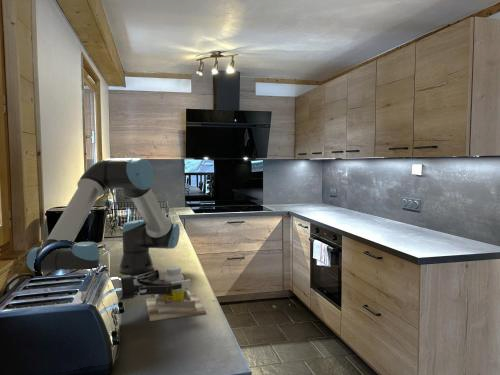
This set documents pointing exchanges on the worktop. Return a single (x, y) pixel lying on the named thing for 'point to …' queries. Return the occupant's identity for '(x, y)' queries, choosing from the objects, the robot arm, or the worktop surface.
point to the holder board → (174, 307)
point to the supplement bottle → (173, 277)
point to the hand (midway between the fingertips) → (183, 278)
